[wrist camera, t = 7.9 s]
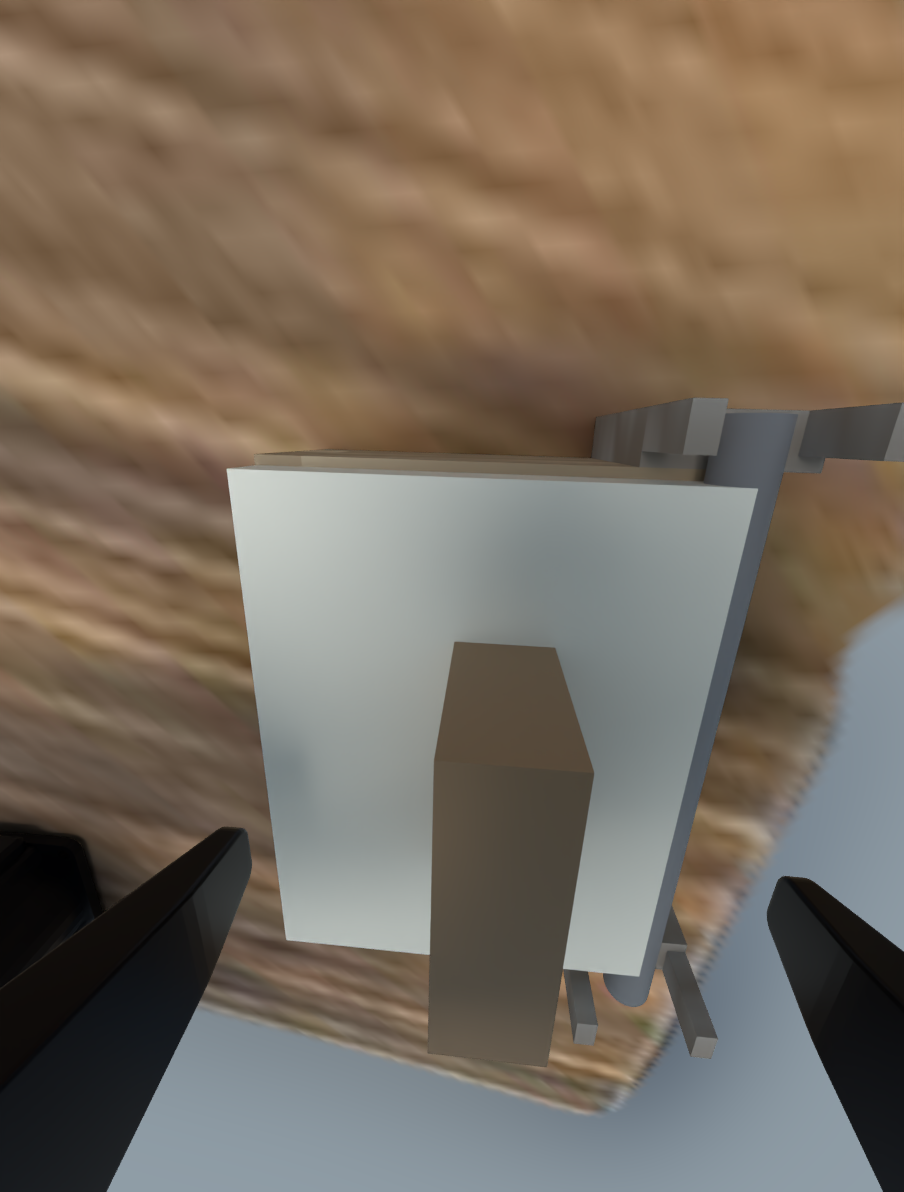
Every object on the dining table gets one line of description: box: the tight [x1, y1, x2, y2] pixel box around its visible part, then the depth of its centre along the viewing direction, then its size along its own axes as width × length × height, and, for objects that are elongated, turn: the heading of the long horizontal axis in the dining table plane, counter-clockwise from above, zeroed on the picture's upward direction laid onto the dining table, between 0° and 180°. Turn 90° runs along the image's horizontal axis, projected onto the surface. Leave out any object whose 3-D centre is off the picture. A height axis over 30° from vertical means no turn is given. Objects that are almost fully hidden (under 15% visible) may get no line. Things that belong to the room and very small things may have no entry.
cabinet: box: [254, 398, 904, 1059], centre depth 12 cm, size 15×11×6 cm
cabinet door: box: [227, 413, 798, 1067], centre depth 9 cm, size 15×10×5 cm
